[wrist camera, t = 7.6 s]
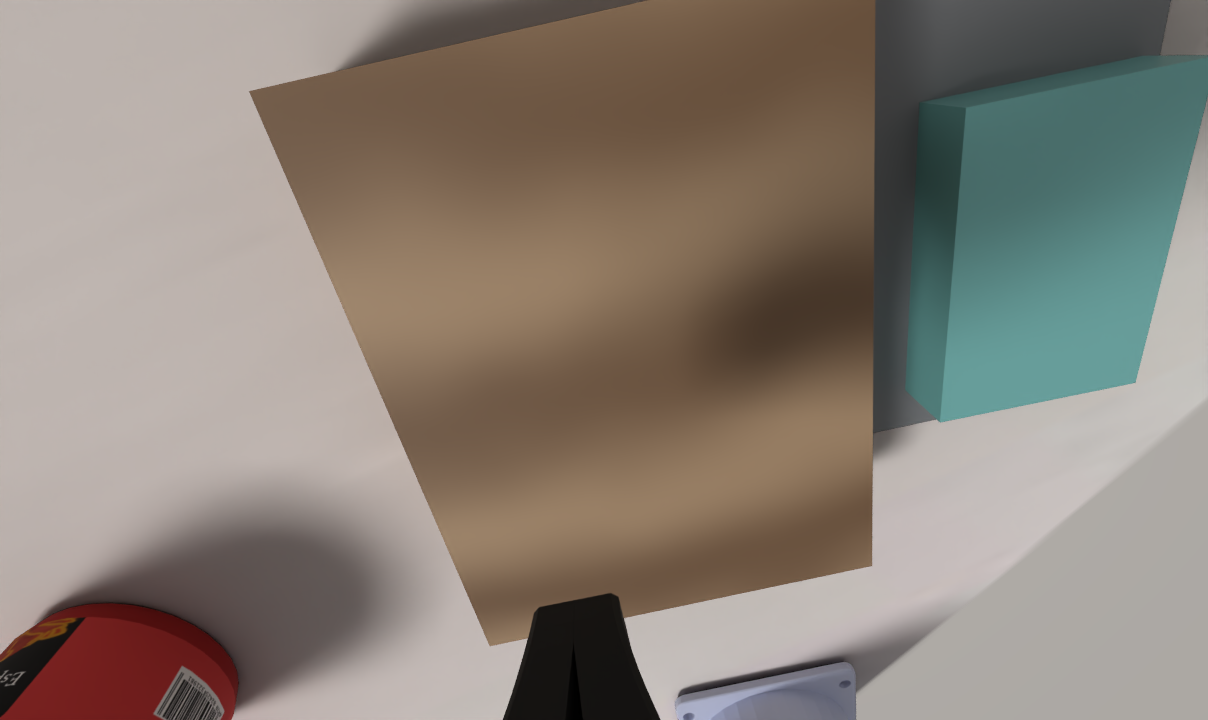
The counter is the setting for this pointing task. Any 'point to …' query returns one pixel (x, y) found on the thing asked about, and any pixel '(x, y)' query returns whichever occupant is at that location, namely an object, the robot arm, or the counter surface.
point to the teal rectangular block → (1045, 231)
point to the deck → (614, 292)
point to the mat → (950, 67)
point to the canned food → (116, 668)
